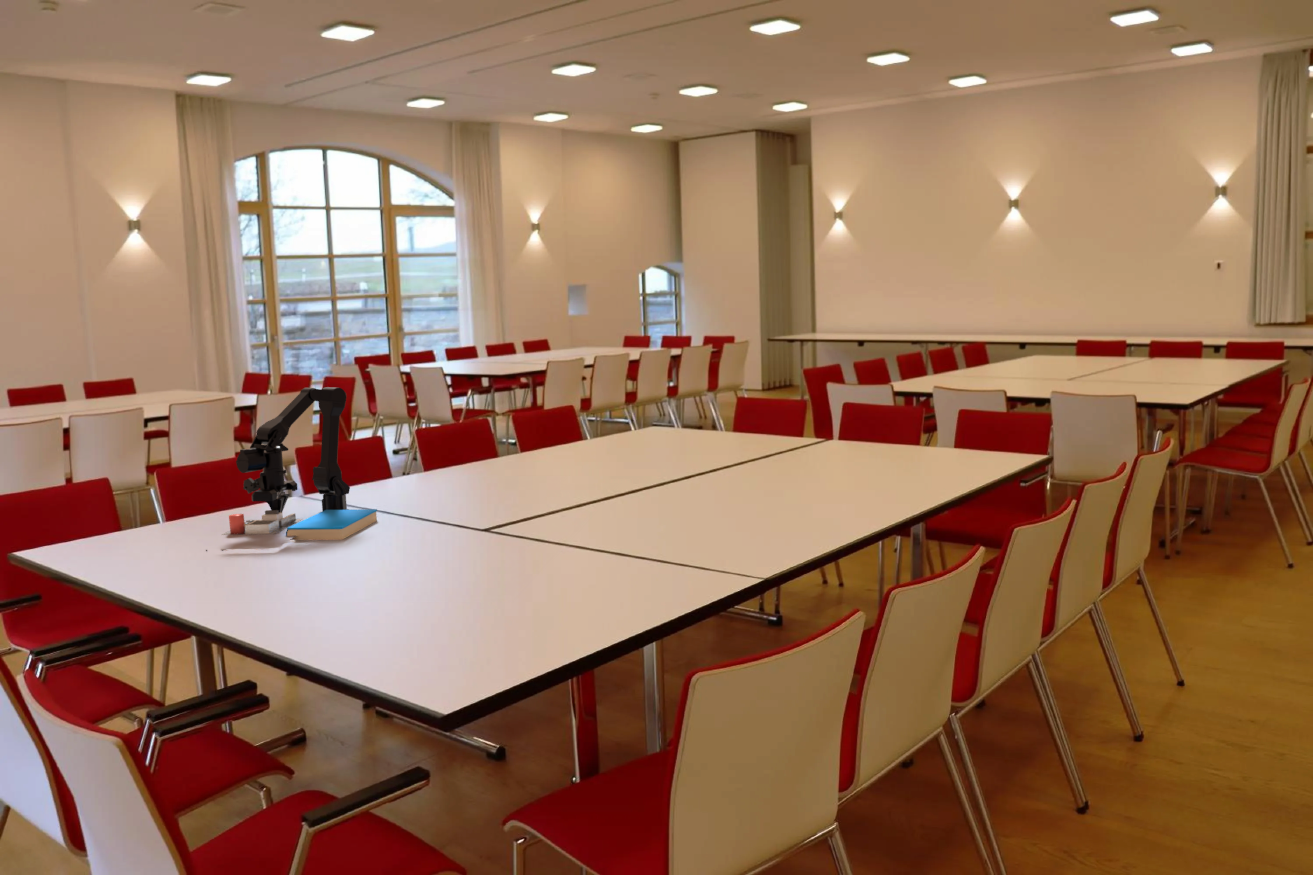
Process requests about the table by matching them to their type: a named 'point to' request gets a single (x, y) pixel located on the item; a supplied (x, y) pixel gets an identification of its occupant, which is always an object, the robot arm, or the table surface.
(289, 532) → the book
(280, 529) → the panel
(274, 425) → the robot arm
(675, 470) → the table surface
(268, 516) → the breaker
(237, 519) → the cap
